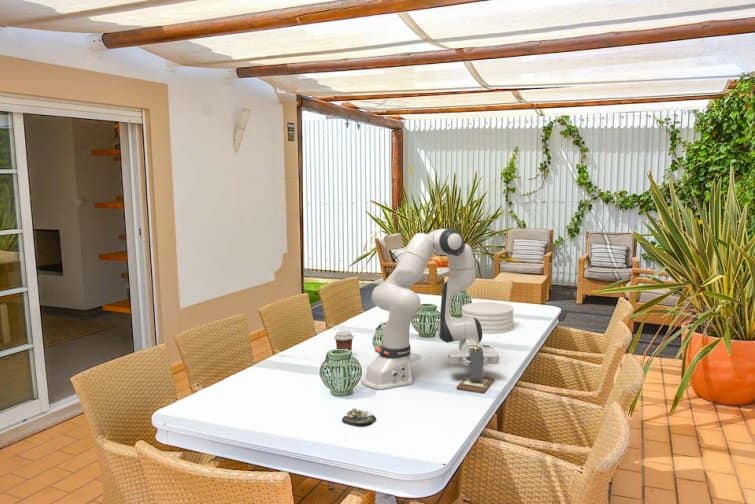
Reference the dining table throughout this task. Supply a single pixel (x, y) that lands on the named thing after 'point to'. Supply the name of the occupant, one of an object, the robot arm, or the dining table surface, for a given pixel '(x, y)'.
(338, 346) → the coffee cup
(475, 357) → the block
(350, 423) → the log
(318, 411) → the dining table surface
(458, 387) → the walnut board
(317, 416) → the dining table surface
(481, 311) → the plate stack
